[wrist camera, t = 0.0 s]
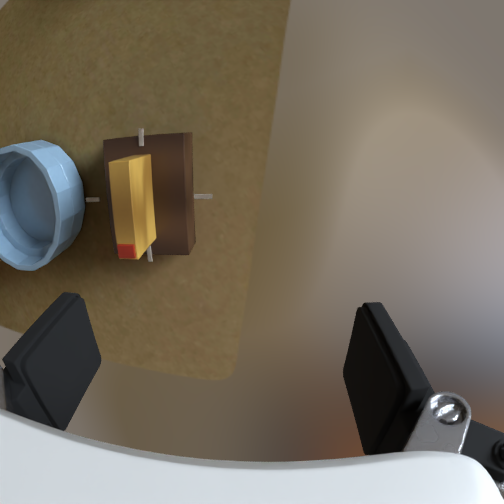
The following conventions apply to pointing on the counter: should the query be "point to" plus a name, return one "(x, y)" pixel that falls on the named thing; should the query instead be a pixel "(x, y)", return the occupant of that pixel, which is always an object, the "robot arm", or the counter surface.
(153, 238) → the yellow block red tip
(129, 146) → the base
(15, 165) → the basin
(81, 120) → the counter surface
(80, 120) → the counter surface
